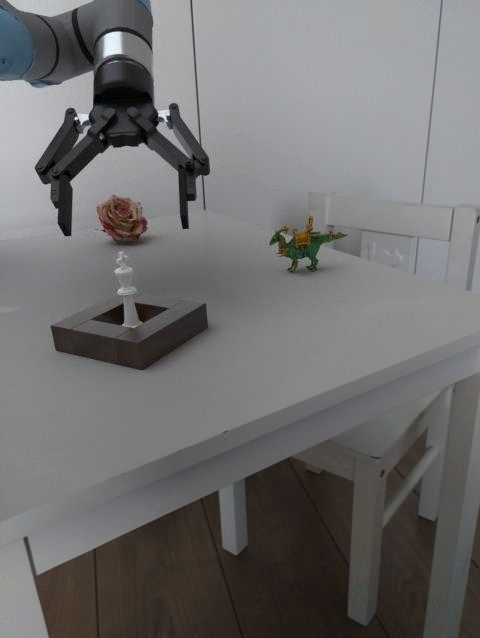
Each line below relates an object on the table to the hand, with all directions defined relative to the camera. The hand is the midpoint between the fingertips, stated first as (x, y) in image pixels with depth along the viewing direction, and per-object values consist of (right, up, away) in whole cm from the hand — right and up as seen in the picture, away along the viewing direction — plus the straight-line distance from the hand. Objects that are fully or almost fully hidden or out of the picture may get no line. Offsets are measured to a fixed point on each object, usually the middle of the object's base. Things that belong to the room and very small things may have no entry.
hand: (124, 226), depth 65 cm
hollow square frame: (+1, -13, 0) cm, 13 cm away
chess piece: (+1, -13, 0) cm, 13 cm away
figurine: (+23, -2, +21) cm, 31 cm away
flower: (-10, +6, +43) cm, 44 cm away
